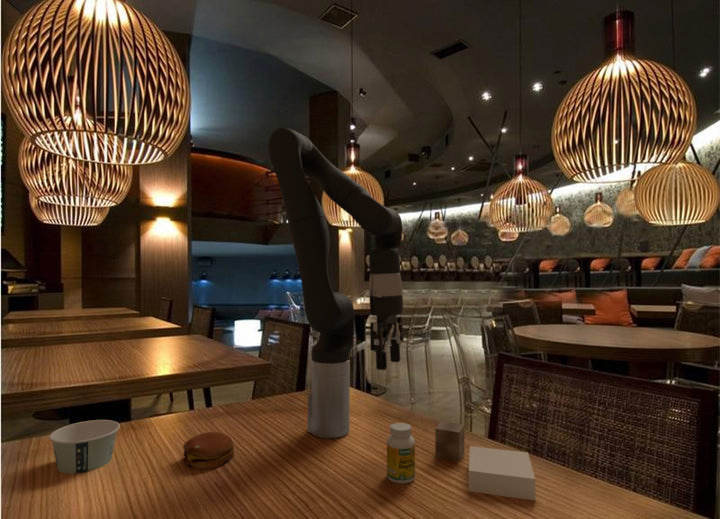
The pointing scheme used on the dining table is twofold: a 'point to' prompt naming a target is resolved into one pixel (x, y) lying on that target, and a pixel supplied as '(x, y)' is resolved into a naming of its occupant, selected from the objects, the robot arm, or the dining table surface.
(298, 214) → the robot arm
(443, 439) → the walnut block
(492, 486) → the riser block
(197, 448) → the burger
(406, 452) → the supplement bottle
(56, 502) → the dining table surface
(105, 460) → the food container
